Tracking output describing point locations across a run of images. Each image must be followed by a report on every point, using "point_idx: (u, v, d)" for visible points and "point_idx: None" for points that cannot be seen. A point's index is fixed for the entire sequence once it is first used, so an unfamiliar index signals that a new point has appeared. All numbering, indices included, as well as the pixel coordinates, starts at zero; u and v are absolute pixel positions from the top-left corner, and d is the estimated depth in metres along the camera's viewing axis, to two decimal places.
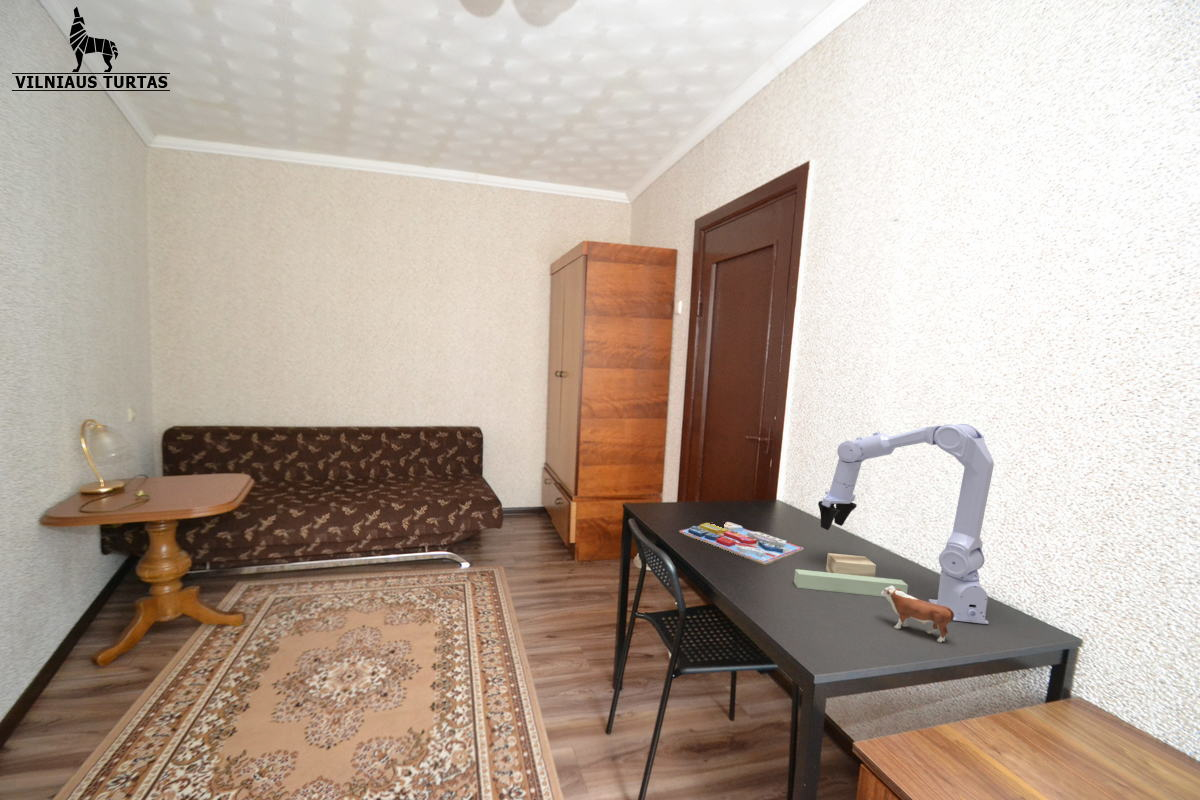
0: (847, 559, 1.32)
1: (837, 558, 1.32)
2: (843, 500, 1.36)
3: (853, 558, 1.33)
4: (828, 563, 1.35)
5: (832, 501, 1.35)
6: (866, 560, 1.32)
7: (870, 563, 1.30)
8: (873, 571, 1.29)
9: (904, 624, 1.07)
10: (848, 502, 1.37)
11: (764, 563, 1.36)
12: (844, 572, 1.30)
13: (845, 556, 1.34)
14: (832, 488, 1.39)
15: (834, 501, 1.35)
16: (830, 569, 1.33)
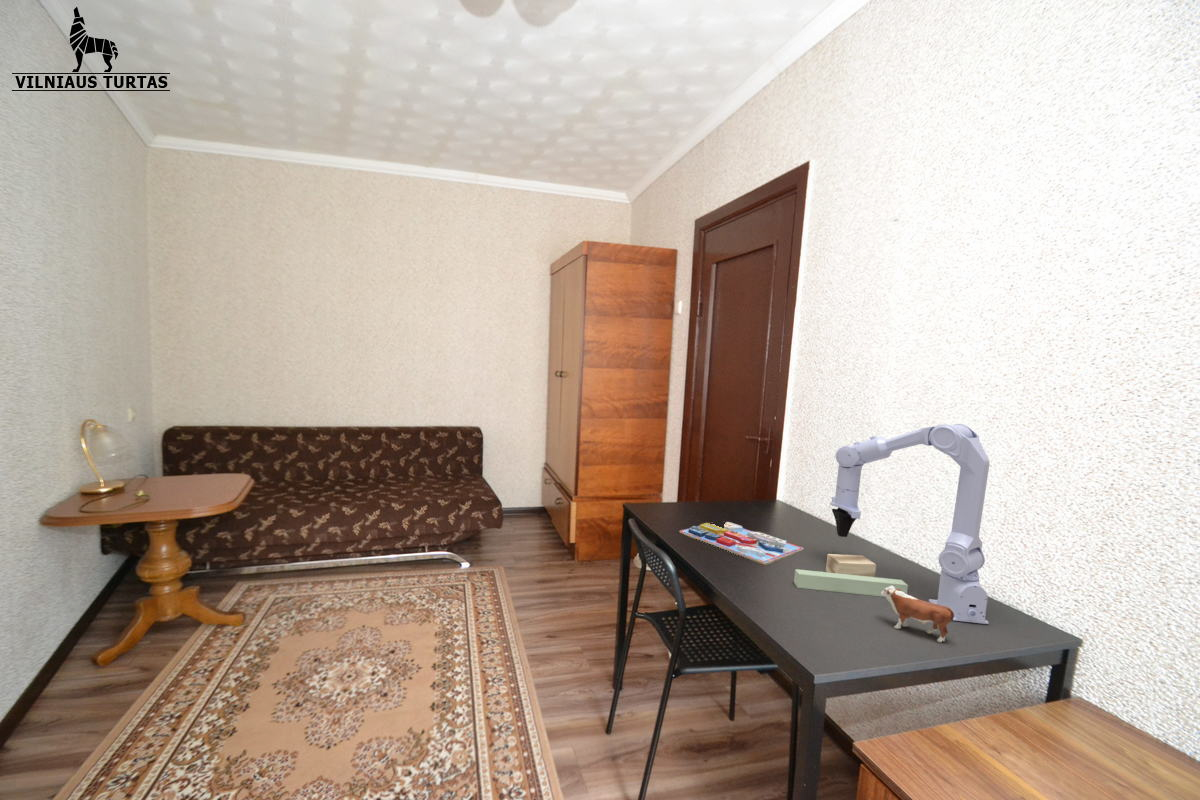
0: (848, 559, 1.32)
1: (839, 559, 1.32)
2: (857, 506, 1.36)
3: (852, 558, 1.33)
4: (828, 563, 1.34)
5: None
6: (865, 559, 1.33)
7: (870, 562, 1.31)
8: (873, 570, 1.30)
9: (904, 624, 1.07)
10: None
11: (764, 563, 1.36)
12: (847, 572, 1.29)
13: (844, 556, 1.34)
14: (844, 498, 1.36)
15: (858, 510, 1.33)
16: (831, 570, 1.33)
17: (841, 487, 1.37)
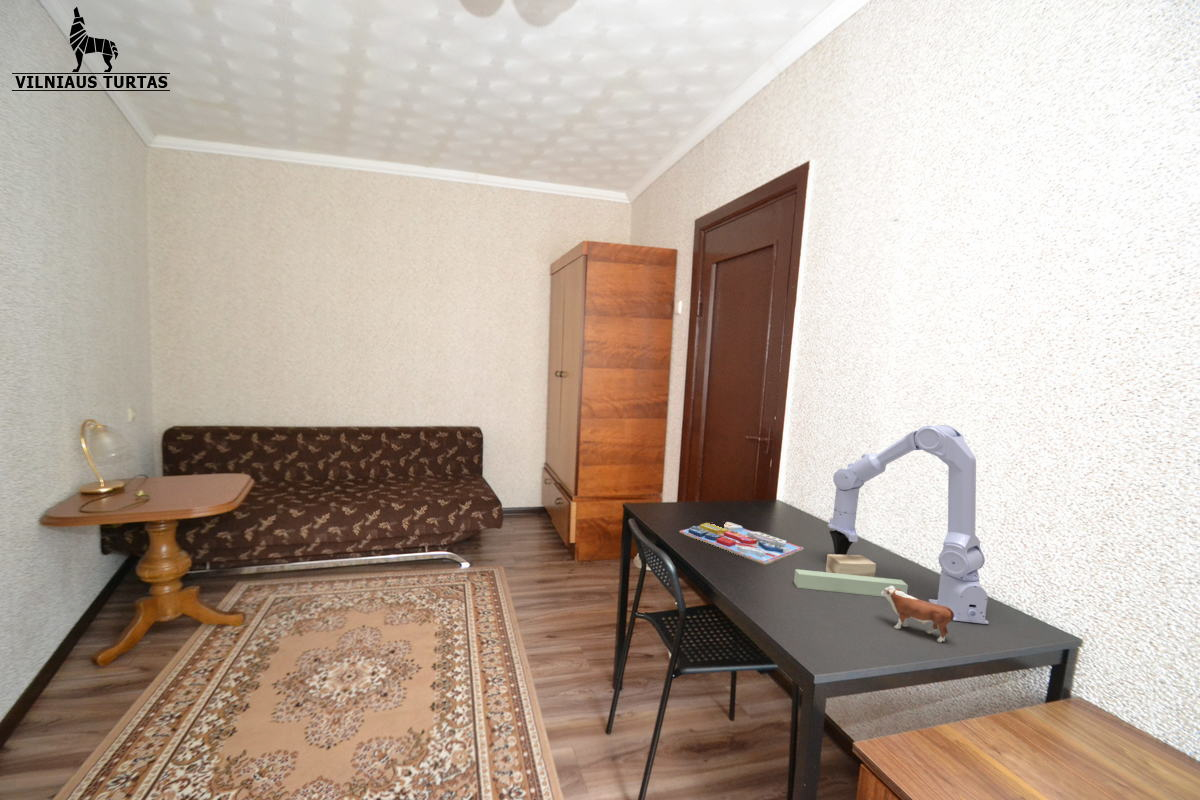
0: (848, 559, 1.32)
1: (839, 559, 1.31)
2: (854, 529, 1.37)
3: (852, 558, 1.33)
4: (828, 564, 1.34)
5: (856, 534, 1.33)
6: (865, 559, 1.33)
7: (870, 562, 1.31)
8: (873, 570, 1.30)
9: (904, 624, 1.07)
10: None
11: (764, 563, 1.36)
12: (847, 572, 1.29)
13: (844, 556, 1.34)
14: (842, 521, 1.36)
15: None
16: (832, 570, 1.32)
17: (839, 510, 1.37)
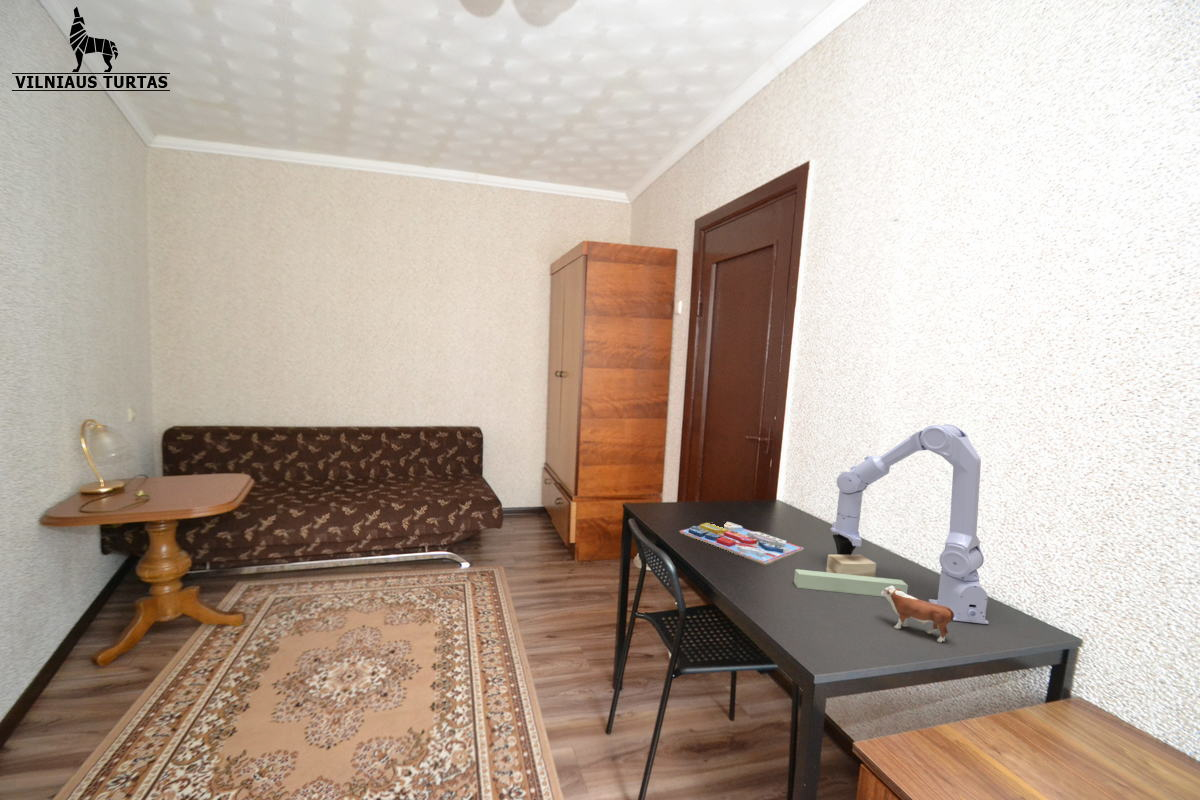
0: (848, 559, 1.32)
1: (840, 559, 1.31)
2: (858, 533, 1.34)
3: (852, 558, 1.33)
4: (829, 564, 1.34)
5: None
6: (865, 559, 1.33)
7: (870, 562, 1.31)
8: (874, 569, 1.30)
9: (904, 624, 1.07)
10: None
11: (765, 563, 1.36)
12: (849, 573, 1.29)
13: (845, 556, 1.34)
14: (845, 525, 1.34)
15: (859, 538, 1.31)
16: (833, 571, 1.32)
17: (842, 513, 1.35)
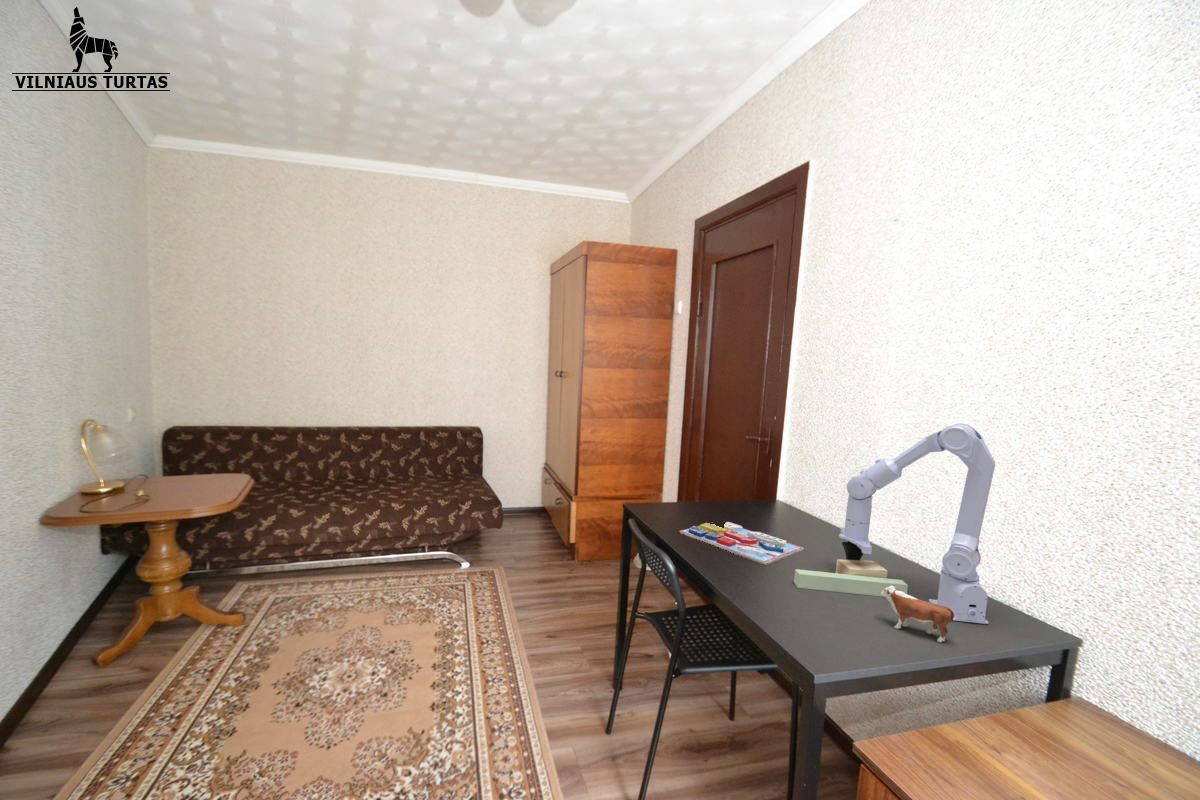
0: (858, 565, 1.28)
1: (849, 565, 1.27)
2: (867, 540, 1.29)
3: (863, 564, 1.29)
4: (837, 569, 1.30)
5: (870, 546, 1.25)
6: (876, 565, 1.28)
7: (881, 568, 1.26)
8: (885, 577, 1.26)
9: (904, 624, 1.07)
10: None
11: (765, 563, 1.36)
12: None
13: (855, 562, 1.30)
14: (854, 531, 1.29)
15: (869, 545, 1.26)
16: None
17: (853, 520, 1.29)
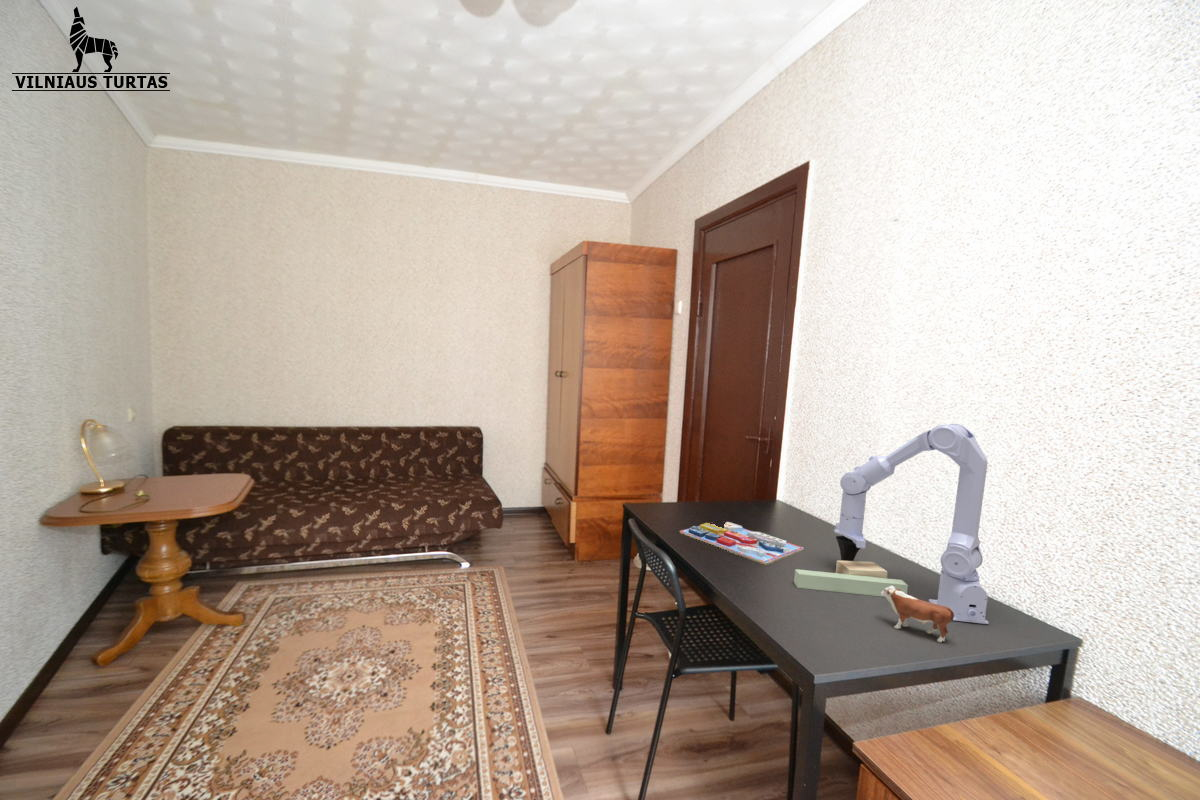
0: (858, 566, 1.28)
1: (849, 566, 1.27)
2: (862, 534, 1.32)
3: (863, 565, 1.29)
4: (837, 570, 1.30)
5: (864, 540, 1.28)
6: (876, 566, 1.28)
7: (881, 569, 1.26)
8: (885, 577, 1.26)
9: (904, 624, 1.07)
10: None
11: (765, 563, 1.36)
12: None
13: (855, 563, 1.30)
14: (849, 526, 1.32)
15: (863, 539, 1.29)
16: None
17: (846, 515, 1.32)
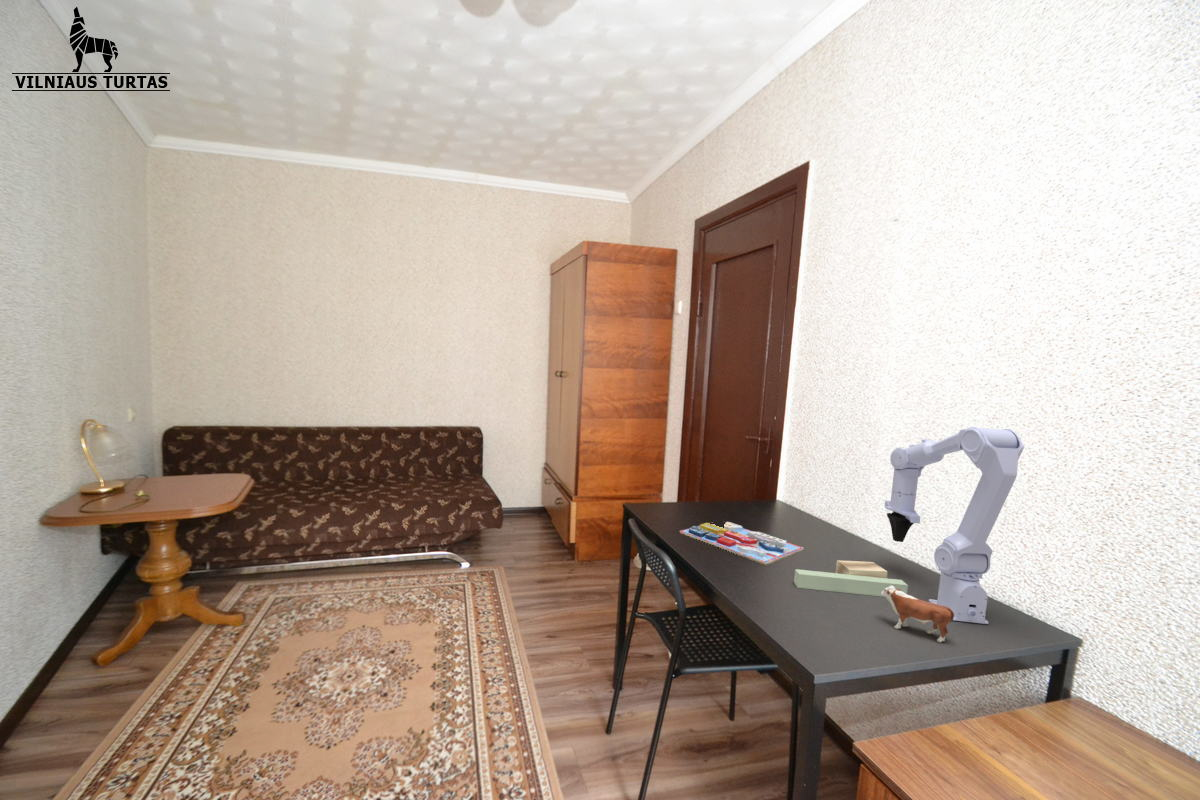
0: (858, 566, 1.28)
1: (849, 566, 1.27)
2: (914, 511, 1.33)
3: (863, 565, 1.29)
4: (837, 570, 1.30)
5: None
6: (876, 566, 1.28)
7: (881, 569, 1.26)
8: (885, 577, 1.26)
9: (904, 624, 1.07)
10: None
11: (765, 563, 1.36)
12: None
13: (855, 563, 1.30)
14: (901, 502, 1.33)
15: None
16: None
17: (893, 489, 1.35)
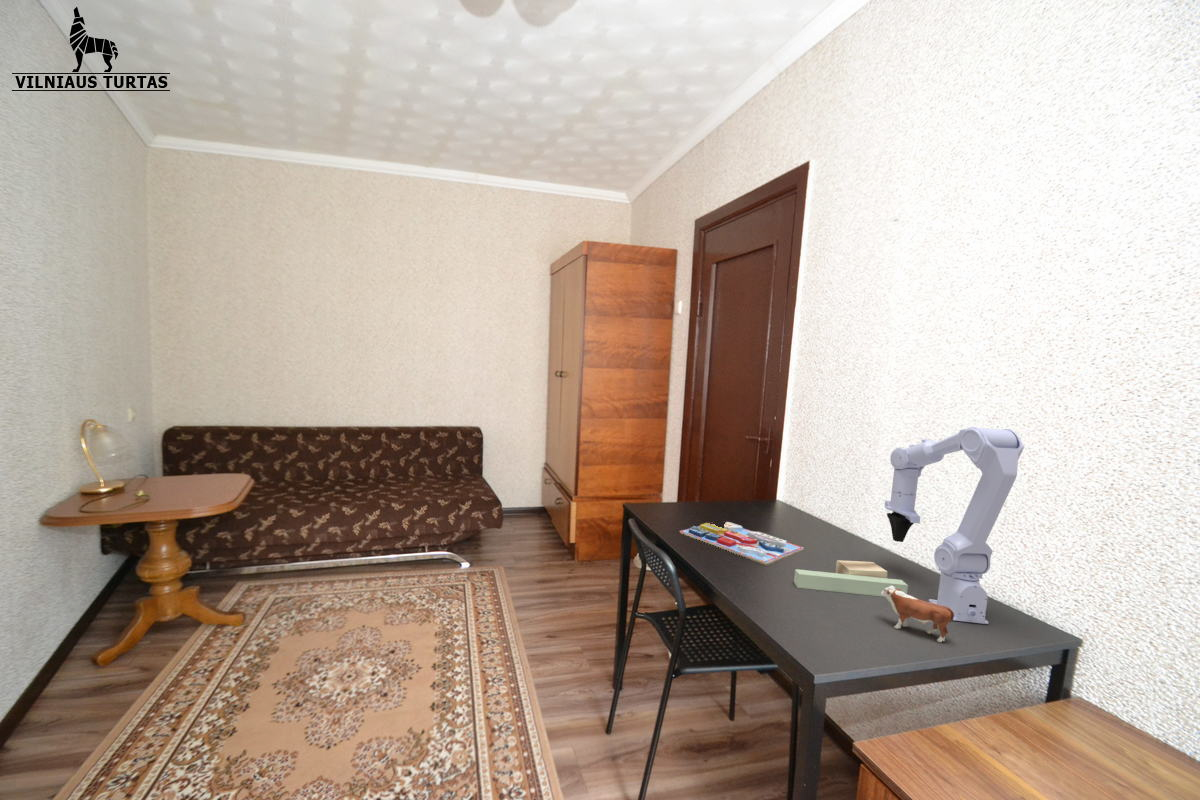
0: (858, 566, 1.28)
1: (849, 566, 1.27)
2: (914, 511, 1.33)
3: (863, 565, 1.29)
4: (837, 570, 1.30)
5: None
6: (876, 566, 1.28)
7: (881, 569, 1.26)
8: None
9: (904, 624, 1.07)
10: None
11: (765, 563, 1.36)
12: None
13: (854, 563, 1.30)
14: (901, 502, 1.33)
15: None
16: None
17: (893, 489, 1.35)
